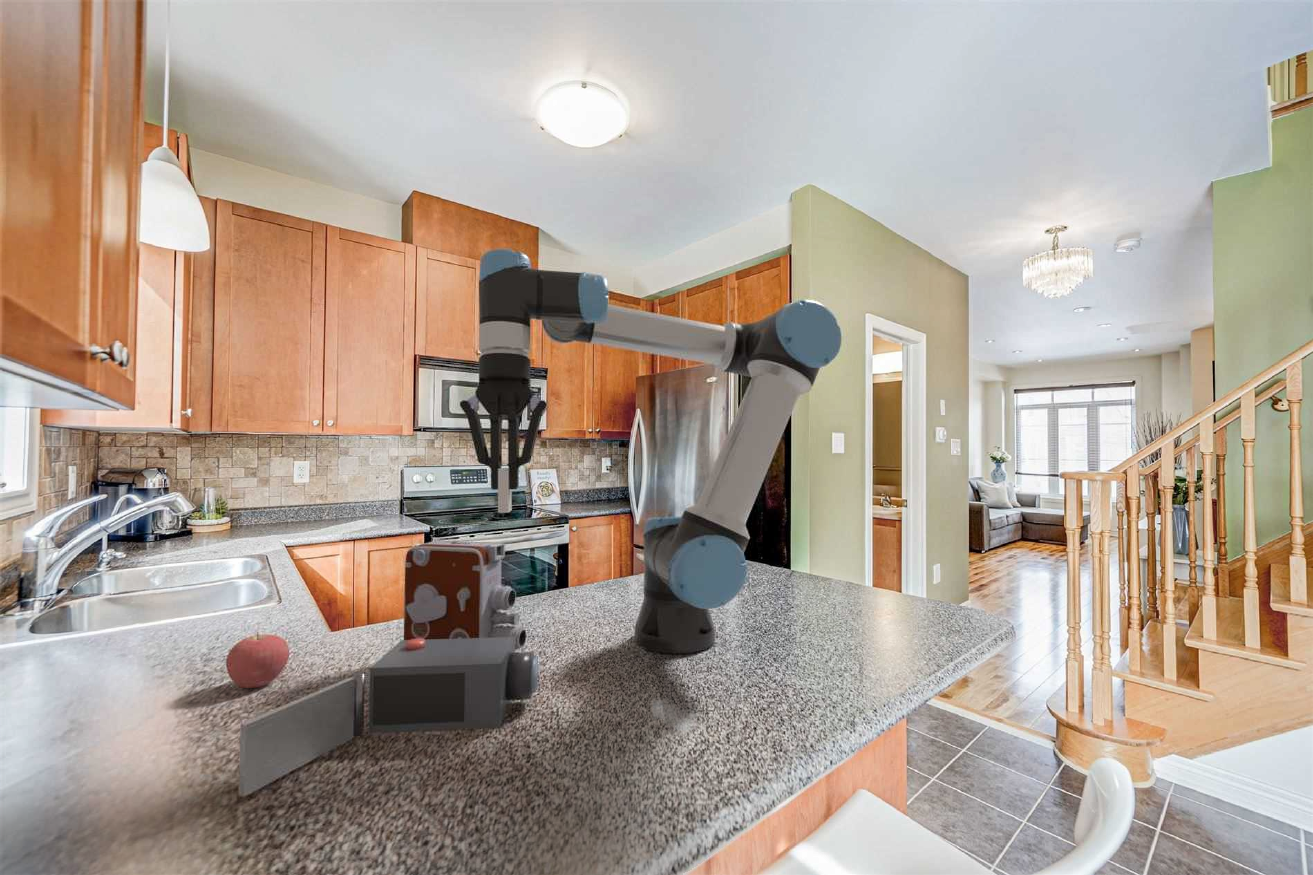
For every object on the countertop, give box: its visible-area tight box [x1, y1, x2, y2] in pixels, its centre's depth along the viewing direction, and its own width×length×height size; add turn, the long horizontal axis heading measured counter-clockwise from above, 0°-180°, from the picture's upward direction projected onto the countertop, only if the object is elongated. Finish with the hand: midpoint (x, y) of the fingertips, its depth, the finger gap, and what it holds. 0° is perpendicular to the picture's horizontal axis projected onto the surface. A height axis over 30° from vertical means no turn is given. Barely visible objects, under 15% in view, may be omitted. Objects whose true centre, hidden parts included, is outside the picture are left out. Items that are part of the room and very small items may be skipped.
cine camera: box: [403, 540, 527, 650], centre depth 88 cm, size 9×19×20 cm, turn 78°
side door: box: [238, 671, 366, 798], centre depth 59 cm, size 13×2×7 cm, turn 158°
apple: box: [225, 630, 290, 689], centre depth 79 cm, size 7×7×8 cm
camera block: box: [368, 637, 539, 735], centre depth 71 cm, size 20×10×9 cm, turn 95°
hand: (504, 511), depth 79 cm, fingers closed
